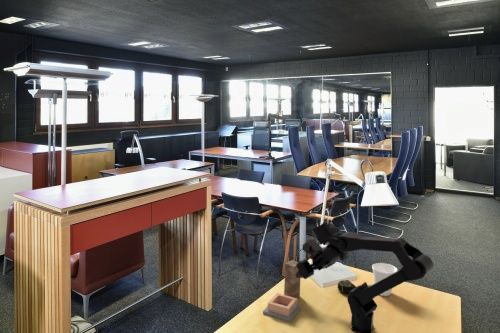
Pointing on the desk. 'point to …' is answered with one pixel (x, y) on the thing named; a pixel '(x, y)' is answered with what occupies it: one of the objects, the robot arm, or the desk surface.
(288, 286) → the walnut pillar
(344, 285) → the tape measure
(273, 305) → the socket stand
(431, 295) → the desk surface
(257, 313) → the desk surface
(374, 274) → the cup
